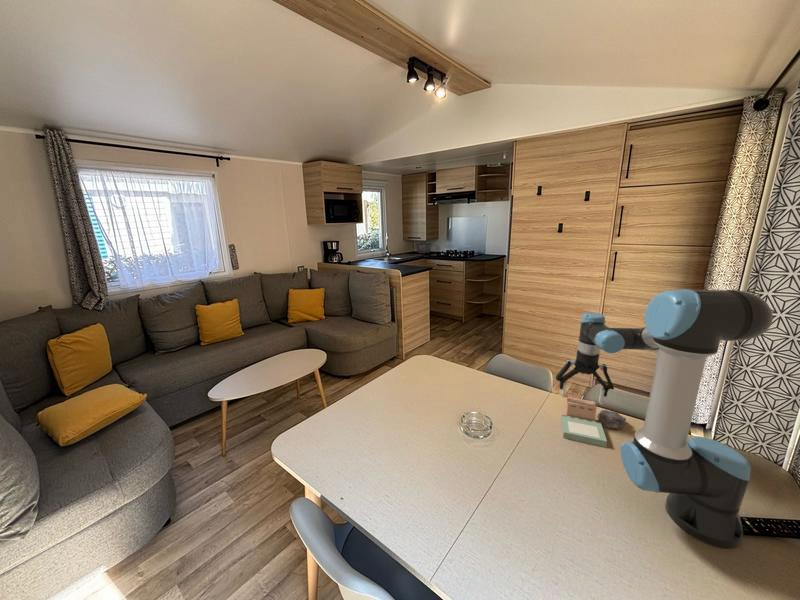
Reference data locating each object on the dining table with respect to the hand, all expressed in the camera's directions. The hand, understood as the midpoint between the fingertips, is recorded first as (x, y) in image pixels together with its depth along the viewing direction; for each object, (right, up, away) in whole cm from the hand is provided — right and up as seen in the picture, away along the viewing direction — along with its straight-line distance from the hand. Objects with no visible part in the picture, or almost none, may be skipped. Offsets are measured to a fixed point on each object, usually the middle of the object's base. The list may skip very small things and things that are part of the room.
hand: (581, 399), depth 128 cm
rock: (+12, -10, 0) cm, 16 cm away
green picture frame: (-3, -11, -6) cm, 13 cm away
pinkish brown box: (0, -9, +2) cm, 9 cm away
